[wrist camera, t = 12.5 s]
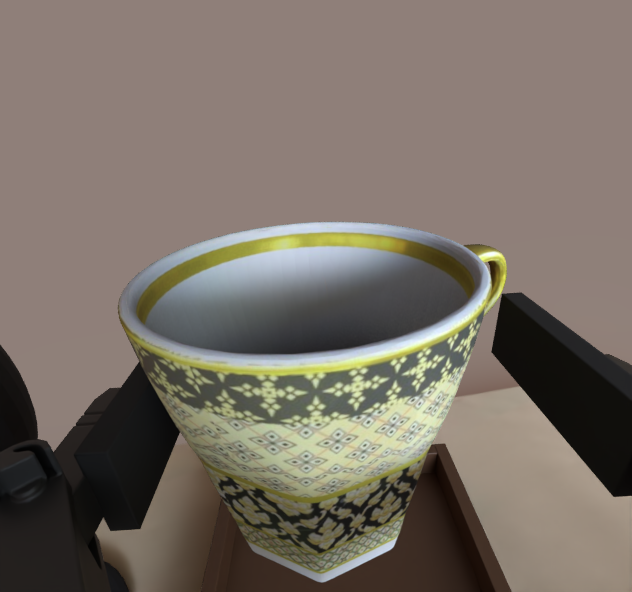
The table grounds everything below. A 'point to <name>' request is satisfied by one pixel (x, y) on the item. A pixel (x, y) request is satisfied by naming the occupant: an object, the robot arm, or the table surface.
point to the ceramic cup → (312, 373)
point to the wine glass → (28, 429)
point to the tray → (390, 567)
